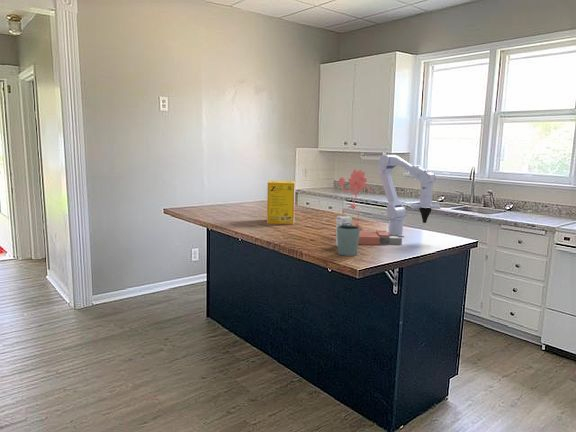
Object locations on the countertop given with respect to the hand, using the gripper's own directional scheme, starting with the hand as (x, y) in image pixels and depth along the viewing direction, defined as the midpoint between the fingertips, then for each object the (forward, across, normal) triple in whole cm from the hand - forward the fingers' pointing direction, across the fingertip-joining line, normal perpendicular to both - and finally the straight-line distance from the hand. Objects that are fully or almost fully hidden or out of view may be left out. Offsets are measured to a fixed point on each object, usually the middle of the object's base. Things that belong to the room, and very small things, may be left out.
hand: (424, 222), depth 226 cm
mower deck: (+9, -24, -5) cm, 26 cm away
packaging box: (+10, -77, +45) cm, 90 cm away
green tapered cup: (+10, -41, -34) cm, 54 cm away
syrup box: (+10, -42, -20) cm, 47 cm away
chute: (+10, -19, -7) cm, 22 cm away
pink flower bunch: (+10, -33, +17) cm, 38 cm away
